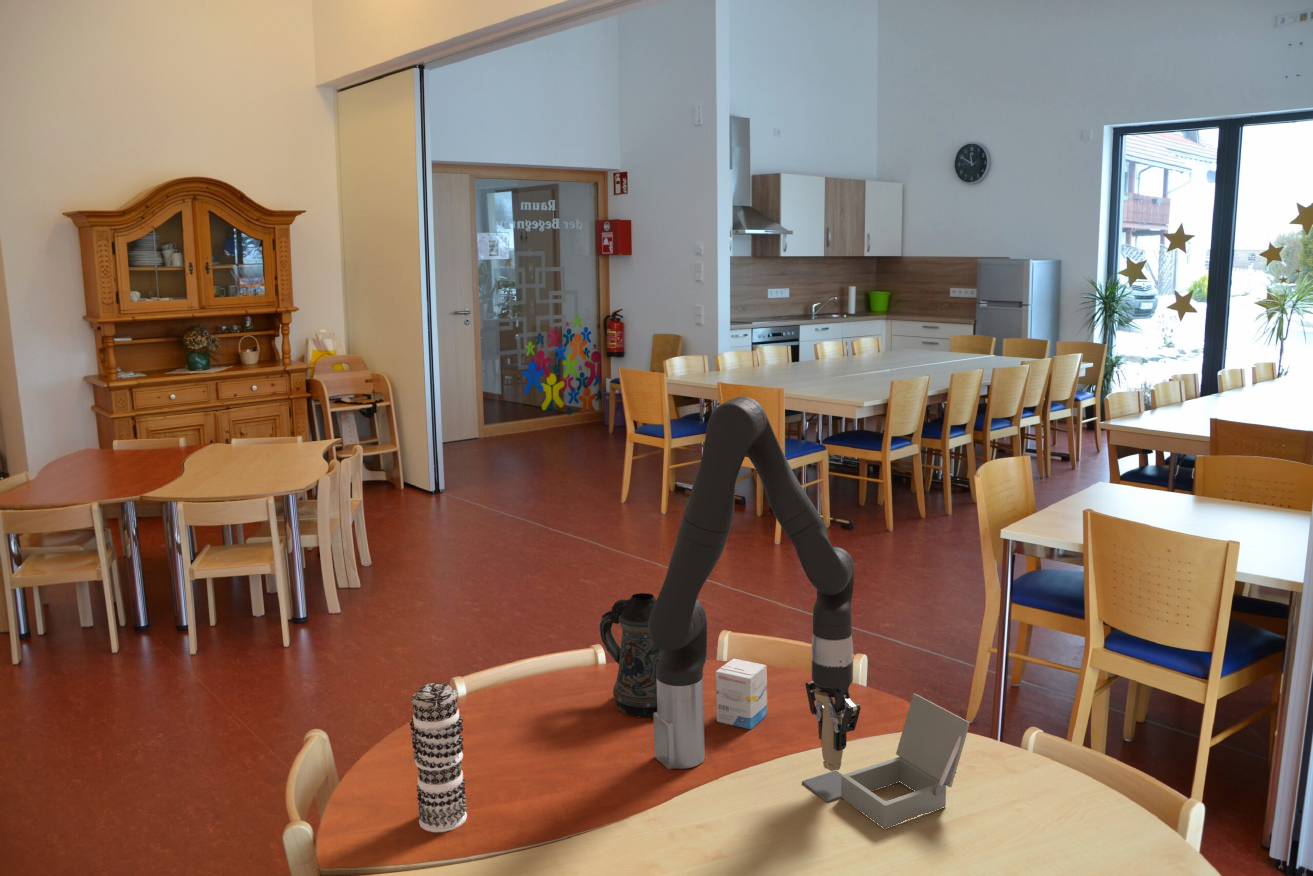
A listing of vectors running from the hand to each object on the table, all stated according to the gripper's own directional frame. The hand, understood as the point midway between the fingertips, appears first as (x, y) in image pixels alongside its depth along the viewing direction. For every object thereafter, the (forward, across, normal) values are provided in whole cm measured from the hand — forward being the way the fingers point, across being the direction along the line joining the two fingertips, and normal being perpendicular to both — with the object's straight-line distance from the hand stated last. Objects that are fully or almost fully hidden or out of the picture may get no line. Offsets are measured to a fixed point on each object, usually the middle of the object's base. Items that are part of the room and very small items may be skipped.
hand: (832, 744), depth 183 cm
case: (+9, +10, +8) cm, 16 cm away
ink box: (+9, -33, +1) cm, 34 cm away
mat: (+9, 0, 0) cm, 9 cm away
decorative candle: (+9, -26, -67) cm, 72 cm away
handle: (+5, 0, 0) cm, 5 cm away
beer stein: (+9, -51, -14) cm, 54 cm away
